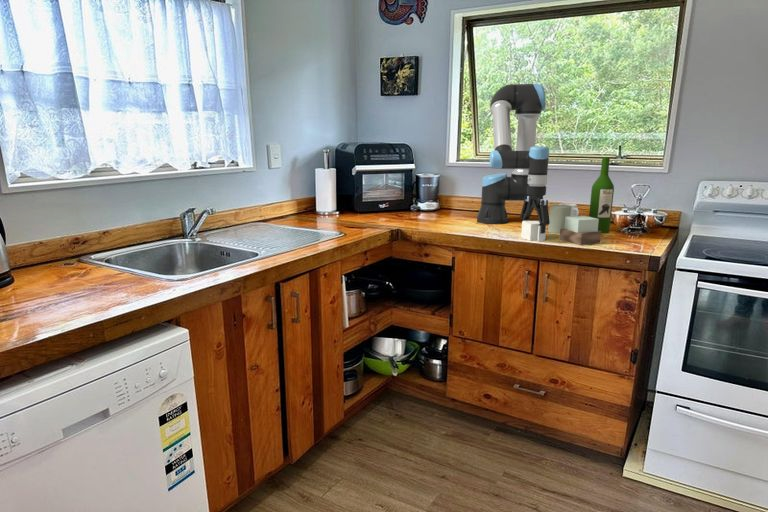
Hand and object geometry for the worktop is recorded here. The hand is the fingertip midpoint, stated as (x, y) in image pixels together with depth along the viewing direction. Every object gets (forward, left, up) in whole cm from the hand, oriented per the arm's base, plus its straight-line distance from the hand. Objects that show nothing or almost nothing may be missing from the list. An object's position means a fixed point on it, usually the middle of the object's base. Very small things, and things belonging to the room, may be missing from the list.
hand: (533, 238), depth 205 cm
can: (-10, +19, 0) cm, 21 cm away
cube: (0, 0, 0) cm, 0 cm away
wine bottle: (-5, +36, 0) cm, 36 cm away
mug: (-22, +33, 0) cm, 40 cm away
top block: (+10, +15, +5) cm, 19 cm away
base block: (+10, +15, -1) cm, 18 cm away
